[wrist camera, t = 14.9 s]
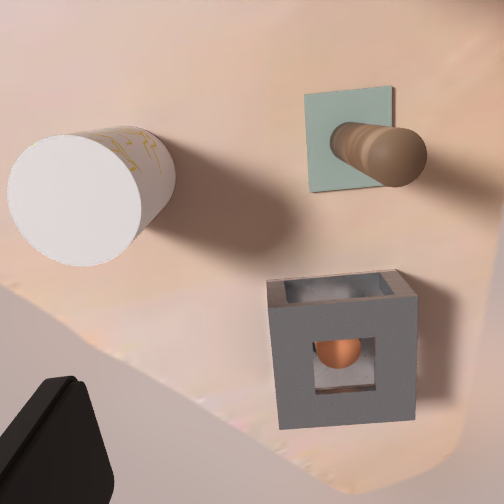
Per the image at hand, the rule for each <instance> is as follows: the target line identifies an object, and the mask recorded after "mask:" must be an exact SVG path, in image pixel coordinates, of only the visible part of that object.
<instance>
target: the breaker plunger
mask: <svg viewBox="0 0 504 504" xmlns="http://www.w3.org/2000/svg"><path fill="white" fill-rule="evenodd" d="M315 347H316V351H317V355H318V358H319V359H320V361H321V362H322V363H323V364H324V365H326V366H328V367H330V368H334V369H342V368H346V367H349V366H350V365H352V364H353V363H355V362H356V361H357V359H358V358H359V356H360V354H361V343H360V341H359V338H358V339H346V340H333V341H321V342H315Z"/></svg>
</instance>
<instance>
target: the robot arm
mask: <svg viewBox="0 0 504 504" xmlns="http://www.w3.org/2000/svg"><path fill="white" fill-rule="evenodd" d="M113 489H114V475H113V471H112V468H111V465H110V462H109V459H108V455H107V452H106V449H105V446H104V442H103V439H102V436H101V433H100V430H99V426H98V423H97V420H96V417H95V413H94V410H93V407H92V404H91V401H90V398H89V394H88V391H87V388H86V385H85V384H84V382H82V381H78V380H77V379H76V377H74V376H64V377H56V378H48V379H45V380H44V381H43V382H42V384H41V385H40V386H39V387H38V389H37V390H36V392H35V393H34V394H33V395H32V397H31V398H30V399H29V400H28V402H27V403H26V404H25V406H24V407H23V408H22V409H21V411H20V412H19V413H18V415H17V416H16V417H15V419H14V420H13V421H12V422H11V424H10V425H9V426H8V428H7V429H6V430H5V432H4V433H3V434H2V435H1V437H0V504H109V502H110V499H111V496H112V493H113Z"/></svg>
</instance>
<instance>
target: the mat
mask: <svg viewBox="0 0 504 504" xmlns="http://www.w3.org/2000/svg"><path fill="white" fill-rule="evenodd" d="M304 103H305V120H306V138H307V155H308V172H309V190H310V192H320V191H330V190H341V189H351V188H362V187H372V186H383V184H381V183H379V182H378V181H376V180H374V179H372V178H371V177H369V176H367V175H366V174H364V173H362V172H360V171H359V170H357V169H355V168H354V167H352V166H350V165H348V164H347V163H345V162H343V161H341V160H340V159H338V158H337V157H335V156H334V154H333V153H332V151H331V148H330V137H331V134H332V133H333V131H334V130H335V128H336V127H338V126H339V125H340V124H342V123H345V122H357V123H365V124H373V125H381V126H389V127H392V86H384V87H375V88H365V89H355V90H346V91H336V92H327V93H317V94H308V95H304Z"/></svg>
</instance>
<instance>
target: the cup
mask: <svg viewBox="0 0 504 504" xmlns="http://www.w3.org/2000/svg"><path fill="white" fill-rule="evenodd" d="M175 183H176V171H175V166H174V162H173V159H172V157H171V155H170V153H169V151H168V150H167V148H166V147H165V145H164V144H163V143H162V142H161V141H160V140H159V139H158V138H157V137H155V136H154V135H153V134H151V133H150V132H148V131H146V130H143V129H141V128H137V127H133V126H117V127H110V128H103V129H97V130H90V131H84V132H77V133H70V134H64V135H57V136H51V137H47V138H44V139H42V140H40V141H37V142H36V143H34V144H32V145H31V146H29V147H28V148H27V149H26V150H25V151H24V152H23V153H22V154H21V155H20V156H19V157H18V159H17V160H16V162H15V164H14V165H13V167H12V170H11V172H10V176H9V179H8V186H7V198H8V205H9V209H10V213H11V216H12V218H13V220H14V222H15V225H16V226H17V228H18V230H19V231H20V233H21V234H22V235H23V237H24V238H25V239H26V240H27V241H28V242H29V243H30V244H31V245H32V246H33V247H34V248H35V249H36V250H38V251H39V252H40V253H42V254H43V255H45V256H47V257H49V258H50V259H53V260H55V261H57V262H60V263H63V264H67V265H72V266H94V265H99V264H102V263H105V262H107V261H110V260H112V259H113V258H115V257H117V256H118V255H119V254H121V253H122V252H123V251H124V250H125V249H126V248H127V247H128V246H129V245H130V244H131V243H132V242H133V240H134V239H135V238H136V237H137V236H138V235H139V234H140V233H141V232H142V231H143V230H144V228H145V227H146V226H147V225H148V224H149V223H150V222H151V221H152V220H153V219H154V218H155V216H156V215H157V214H158V213H159V212H160V211H161V210H162V209H163V208H164V207H165V206H166V204H167V203H168V202H169V200H170V198H171V196H172V194H173V192H174V188H175Z"/></svg>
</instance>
